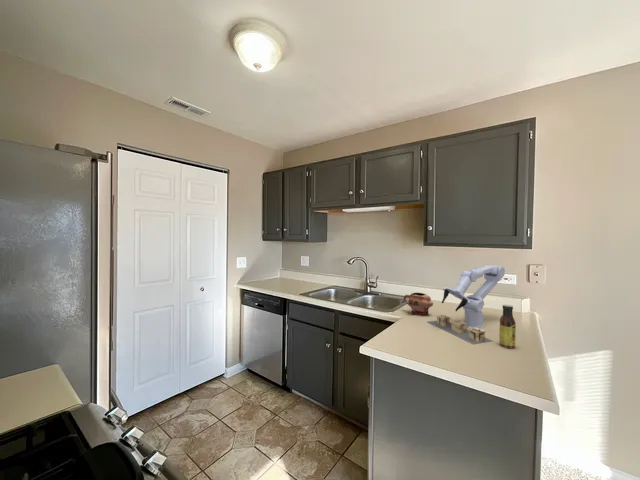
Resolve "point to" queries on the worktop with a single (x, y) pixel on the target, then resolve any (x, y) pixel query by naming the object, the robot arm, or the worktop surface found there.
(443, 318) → the maple block marked 1
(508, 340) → the sauce bottle
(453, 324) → the plain maple block
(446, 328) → the charcoal mat
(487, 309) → the worktop surface
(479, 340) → the maple block marked 7
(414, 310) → the decorative planter
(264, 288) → the worktop surface
